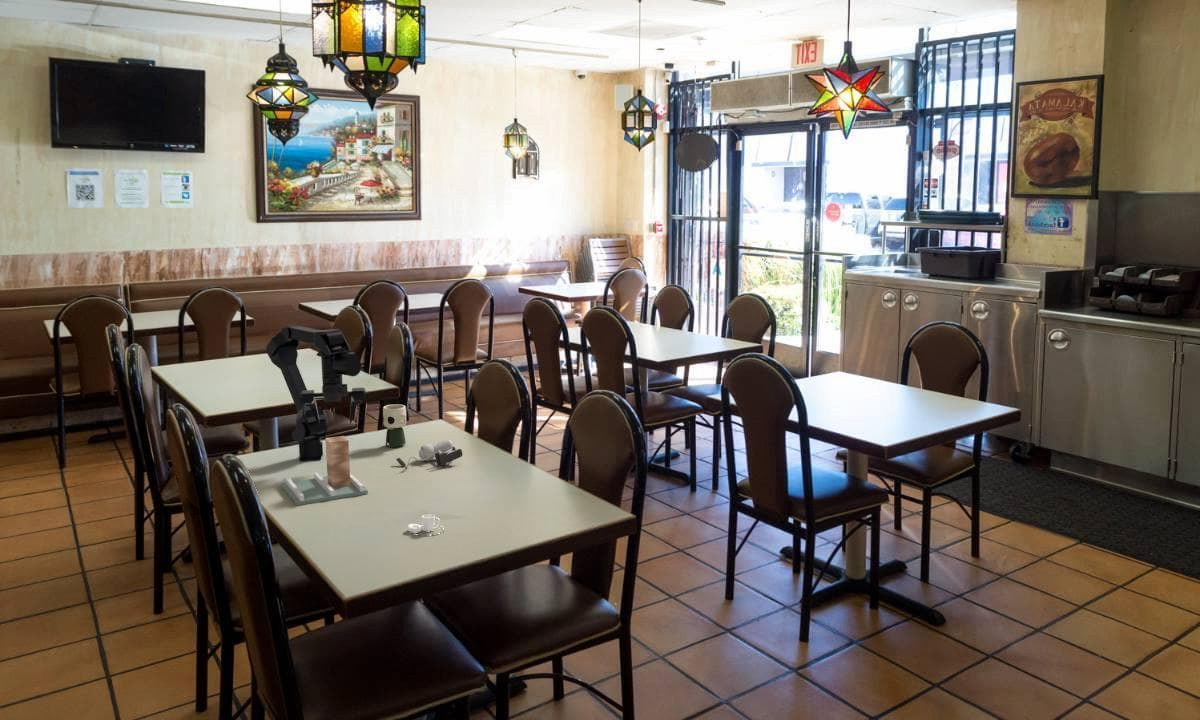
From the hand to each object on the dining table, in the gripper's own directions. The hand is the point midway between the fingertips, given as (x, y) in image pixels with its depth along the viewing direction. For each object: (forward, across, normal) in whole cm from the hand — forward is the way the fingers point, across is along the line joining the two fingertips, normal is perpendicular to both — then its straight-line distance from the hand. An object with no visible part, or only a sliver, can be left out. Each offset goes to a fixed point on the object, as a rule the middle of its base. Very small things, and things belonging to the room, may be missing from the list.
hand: (334, 423), depth 282 cm
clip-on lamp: (+13, +27, -4) cm, 30 cm away
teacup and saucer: (+14, +22, -58) cm, 64 cm away
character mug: (+13, +18, +18) cm, 29 cm away
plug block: (+12, +1, -22) cm, 25 cm away
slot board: (+13, -3, -23) cm, 27 cm away
